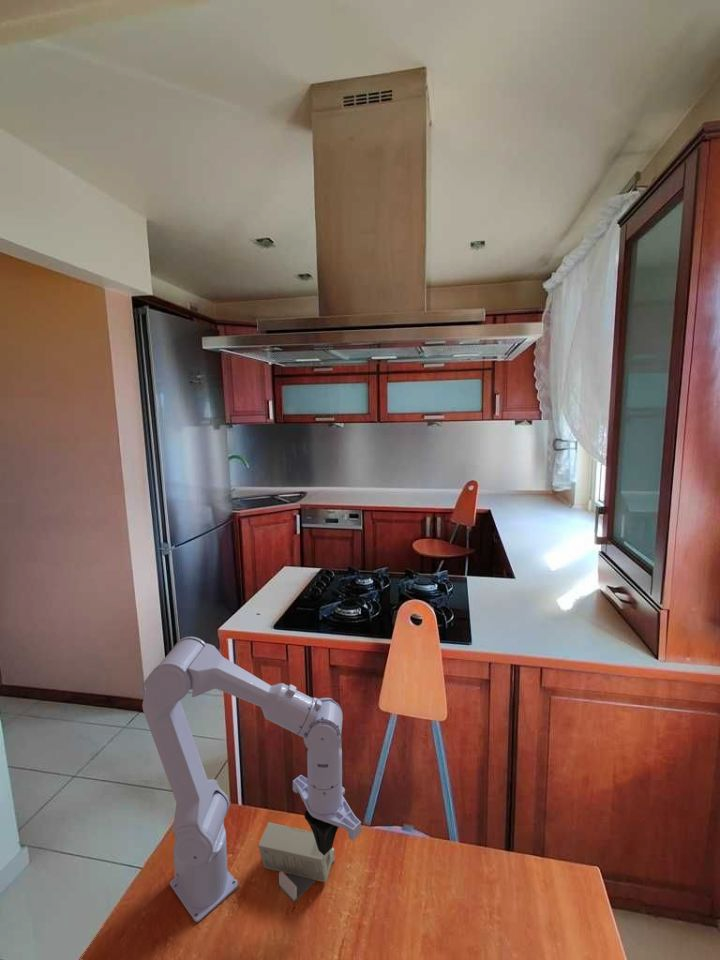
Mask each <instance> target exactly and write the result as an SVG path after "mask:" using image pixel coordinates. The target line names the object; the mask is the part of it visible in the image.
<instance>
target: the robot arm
mask: <svg viewBox="0 0 720 960" xmlns="http://www.w3.org/2000/svg"><path fill="white" fill-rule="evenodd" d="M143 686H144V688H145V689H144V690H145V691H144V696H143V699H142V700H143V701H142V711H143V714H144V717H145V720H146V721H147V725H148V728H149V730H150V733H151V736H152V739H153V743H154V744H155V746H156V750H157V753H158V756H159V758H160V760H161V761H160V762H161V764H162V766H163V767H162V768H163V770H164V772H165V775H166V778H167V781H168V783H169V786H170V789H171V791H172V795H173V797H174V800H175V802H176V803H175V812H174V817H173V823H172V832H173V835H174V838H175V839H174V844H173V864H174V877H173V878H172V879H171V880H170V881H169V885H170V887H171V888H172V890H173V891H174V894H176V897H178V899H179V900H180V902H181V903H182V905H183V907H185V909H186V910H187V912H188V913H189V916H190V917H192V920H193V921H194V922H195V923H199V922H200V921H201V920H203V919H204V918H205V916H207V915H208V914H209V913H211V912H212V910H214V909H215V908H216V907H217V906H219V905H220V903H222V902H223V901H224V900H225V899H227V897H228V896H230V895H231V894H232V893H233V892H234V891H236V889H238V888H239V882H238V881H237V880H236V879H235V877H234V876H233V875H232V873H231V872H230V871H229V870H228V853H227V833H226V831H227V830H226V828H225V823H224V822H225V821H224V820H225V818H226V815H227V814H228V812H229V810H230V804H231V803H230V799H229V796H228V795H227V793H226V792H224V790H222V788H220V785H219V784H218V783H219V782H218V780H217V779H214V778H213V779H211V778H208V777H207V774H206V770H205V768H204V765H203V762H202V759H201V756H200V753H199V750H198V747H197V743H196V741H195V739H194V737H193V733H192V730H191V728H190V725H189V722H188V719H187V716H186V713H185V710H184V707H183V704H182V701H181V700H182V699H184V698H185V697H186V696H187V694H188V693H189V691H190V690H192V693H191V697H192V698H195V697H198V696H200V695H203V694H205V693H208V692H210V691H212V690H218V691H220V692H223V693H226V694H228V695H231V696H233V697H236V698H238V699H240V700H243V701H245V702H247V703H250V704H253V705H254V706H257V707H260V709H261V711H262V713H263V717H264V718H265V719H266V720H267V721H269V722H271V723H273V724H275V725H278V726H279V727H282V728H283V729H285V730H287V731H289V732H292V733H293V734H295V735H297V736H299V737H300V738H301V737H302V738H303V743H304V745H305V747H306V748H307V752H306V755H307V756H306V758H307V765H306V766H307V767H306V768H307V777H305V776H304V775H302V774H300V775H299V776H297V777H296V778H295V779H293V780H292V791H293V792H294V793H295V794H299V795H300V796H299V797H301V800H302V803H304V806H305V807H306V810H305V812H304V819H305V820H306V822H307V823H308V825H309V827H310V829H311V831H312V832H313V834H314V837H315V840H316V844H317V847H318V850H319V851H320V852H321V853H322V854H323V855H325V854H326V853H327V852H328V851H329V850H330V849H331V848H333V846H334V841H335V837H336V834H337V832H338V829H339V828H341V829H344V830H345V831H346V832H347V835H348V838H349V839H350V840H351V841H354V840H355V839H356V838H357V837H358V836H359V835H360V834H361V833H362V821H361V820H360V819H359V818H358V817H357V816H356V815H355V814H354V812H353V810H352V809H351V807H350V805H349V804H348V802H347V800H346V798H345V797H344V795H345V793H346V789H345V787H344V786H343V751H342V730H343V729H342V728H343V720H344V719H343V717H344V716H343V710H342V707H341V705H340V704H339V703H338V702H336V701H335V700H334V699H333V698H332V697H331V698H330V697H320V698H318V697H312V696H309V695H307V694H305V693H303V692H301V691H299V690H298V689H297V686H295V685H293V684H291V683H290V684H289V685H288V684H285V683H283V682H280V683H277V684H274V685H271V684H269V683H267V682H266V681H264V680H263V679H260V678H259V677H257V675H254V674H252V673H251V672H249V671H247V670H245V669H244V668H242V667H241V666H239V665H238V664H236V663H234V662H232V661H231V660H229V659H227V658H225V657H224V656H223V655H222V654H221V652H220V651H219V650H218V649H217V647H216V646H215V645H213V644H210V643H206V642H205V641H204V640H202V639H201V638H199V637H196V636H185V637H183V638H181V639H180V640H178V641H177V642H176V643H175V644H174V646H173V647H172V648H171V650H170V651H169V653H168V654H167V655H166V656H165V657H164V658H163V659H162V660H161V661H160V663H159V664H158V665H157V666H155V667H154V669H153V670H152V671H151V672H150V674H149V675H148V676H147V677H146V679H145V680H144V681H143Z"/></svg>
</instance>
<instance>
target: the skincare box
mask: <svg viewBox="0 0 720 960" xmlns="http://www.w3.org/2000/svg"><path fill="white" fill-rule="evenodd" d="M257 846H258V850H259V854H260V858H261V861H262V865H263V868H264V869H267V870H268V869H269V870H271V871H275V872H279V873H280V872H281V871H282V872H283V873H284V874H289V875H290V874H293V875H297V876H301V877H305V878H309V879H314V880H316V881H318V882H323V883H327V881H328V877H329V874H330V872H331V867H332V865H333V864H332V860H333V851H332V848H333V847H332V848H331V849H330V850H329V851H328V852H327V853H326V854H325V855H323V854H322V853H321V852H320V851H319V850H318V847H317V844H316V840H315V837H314V834H313V831H312V830H306V829H302V828H297V827H293V826H287V825H282V824H279V823H274V822H271V821H268V822H267V825H266V828H265V829H264V832H263V834H262V837H261V838H260V841H259V843H258V845H257ZM331 864H332V865H331Z"/></svg>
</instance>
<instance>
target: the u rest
mask: <svg viewBox="0 0 720 960" xmlns="http://www.w3.org/2000/svg"><path fill="white" fill-rule="evenodd" d="M332 851H333V860H332V864H331V866H332V865H333V864H334V863H335V862H336V861H335V859H336V857H335V848H334V847H332ZM316 881H317V880H314V879H309V878H305V877H301V876H297V875H293V874H289V875H288V876H287V875H286V873H284V872H282V871H281V872H280V871H279V873H278V884H279V885H278V886H279V888H280V890H282V891H283V892H284V893H285V894H286V895H287V897H288V898H289V899H290V900H291V901H292V902H293V903H296V902H297V901H298V900H299V899H300V897H302V895H303V894H304V893H305V892H306V891H308V889H309V888H311V887H312V885H313V884H314V883H315V882H316Z"/></svg>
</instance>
